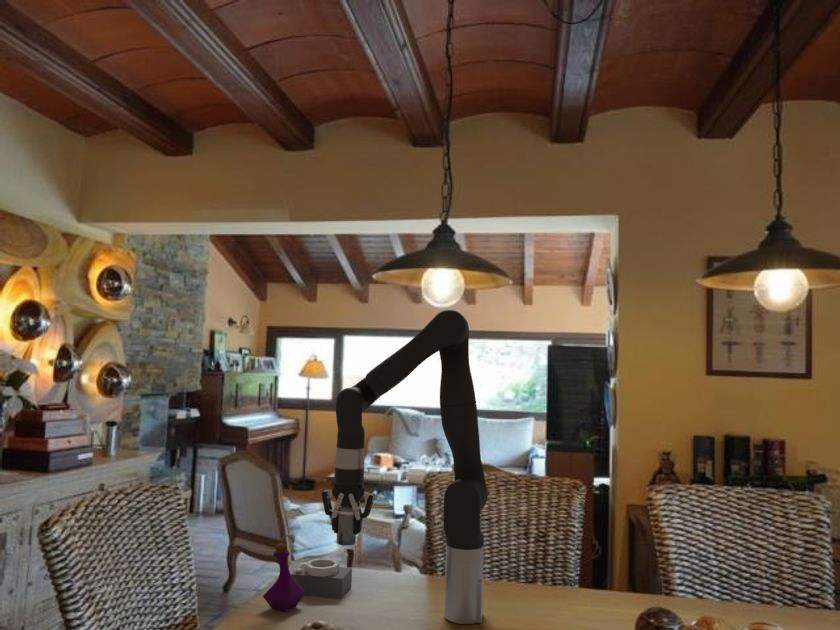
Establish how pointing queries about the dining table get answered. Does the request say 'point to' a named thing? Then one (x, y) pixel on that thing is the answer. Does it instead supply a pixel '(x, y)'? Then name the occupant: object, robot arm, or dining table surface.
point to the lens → (346, 526)
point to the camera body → (323, 578)
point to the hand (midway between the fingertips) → (346, 532)
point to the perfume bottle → (284, 582)
